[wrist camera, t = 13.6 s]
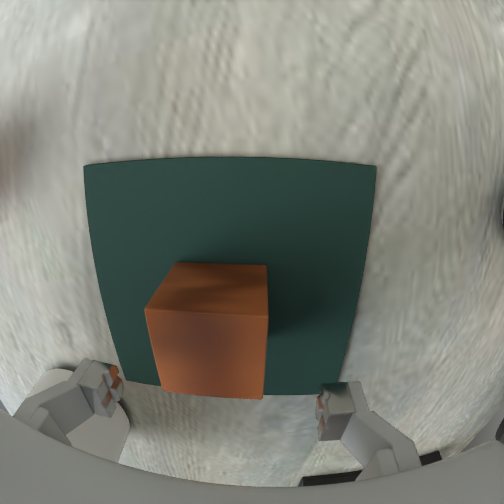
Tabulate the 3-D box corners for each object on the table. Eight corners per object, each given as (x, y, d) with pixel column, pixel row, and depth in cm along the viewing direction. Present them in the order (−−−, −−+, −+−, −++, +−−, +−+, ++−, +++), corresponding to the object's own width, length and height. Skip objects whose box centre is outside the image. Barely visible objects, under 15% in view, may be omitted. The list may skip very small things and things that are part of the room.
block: (266, 264, 15) (268, 316, 11) (263, 338, 17) (263, 400, 13) (175, 261, 16) (143, 308, 11) (183, 334, 17) (162, 391, 13)
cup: (134, 441, 24) (109, 514, 14) (56, 406, 23) (20, 468, 14) (133, 389, 20) (91, 487, 11) (39, 346, 20) (-18, 418, 10)
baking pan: (438, 450, 25) (445, 466, 22) (397, 492, 31) (400, 504, 28) (302, 477, 25) (304, 497, 23) (287, 509, 31) (287, 524, 28)
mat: (374, 165, 14) (377, 166, 13) (332, 389, 19) (333, 393, 19) (86, 165, 14) (83, 166, 14) (127, 377, 20) (125, 380, 19)
